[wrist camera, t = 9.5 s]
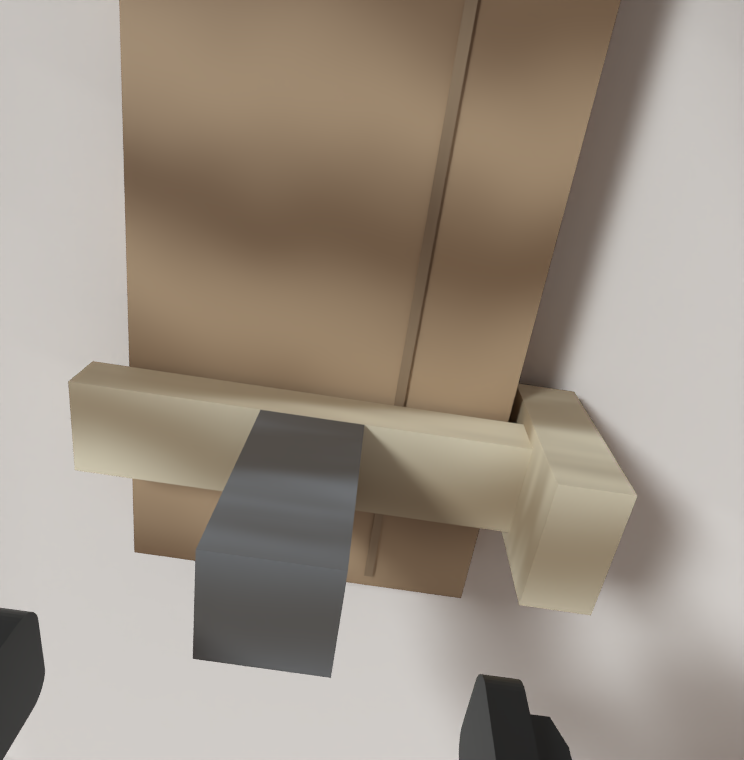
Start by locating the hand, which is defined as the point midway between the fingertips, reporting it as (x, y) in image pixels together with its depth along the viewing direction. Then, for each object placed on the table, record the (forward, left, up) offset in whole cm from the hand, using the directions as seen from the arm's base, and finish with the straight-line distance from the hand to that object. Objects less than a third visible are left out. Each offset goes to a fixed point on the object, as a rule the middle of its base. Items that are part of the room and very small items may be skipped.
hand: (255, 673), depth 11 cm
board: (-7, 0, -11) cm, 13 cm away
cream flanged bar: (0, 0, -11) cm, 11 cm away
